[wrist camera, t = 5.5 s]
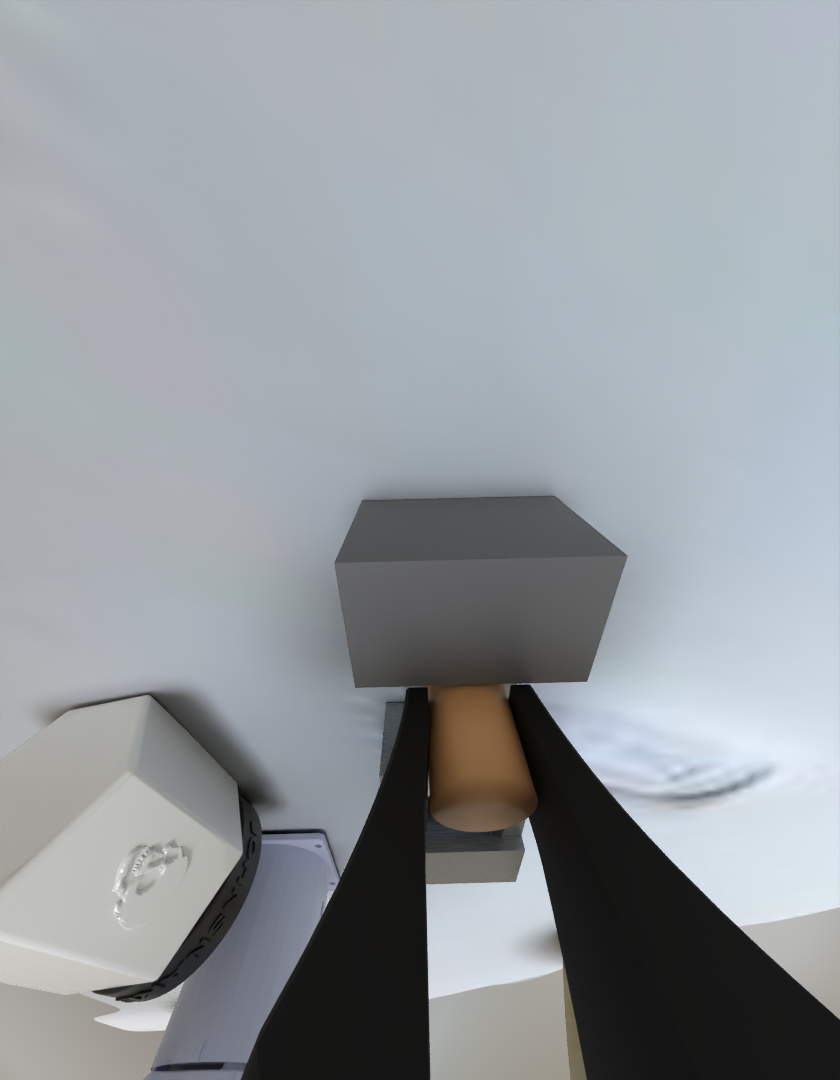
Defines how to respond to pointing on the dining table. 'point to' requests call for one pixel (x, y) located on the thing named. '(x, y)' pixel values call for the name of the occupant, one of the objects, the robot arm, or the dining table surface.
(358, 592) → the dark gray rectangular block
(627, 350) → the dining table surface
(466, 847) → the sleeve
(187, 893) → the jar
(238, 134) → the dining table surface
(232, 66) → the dining table surface
